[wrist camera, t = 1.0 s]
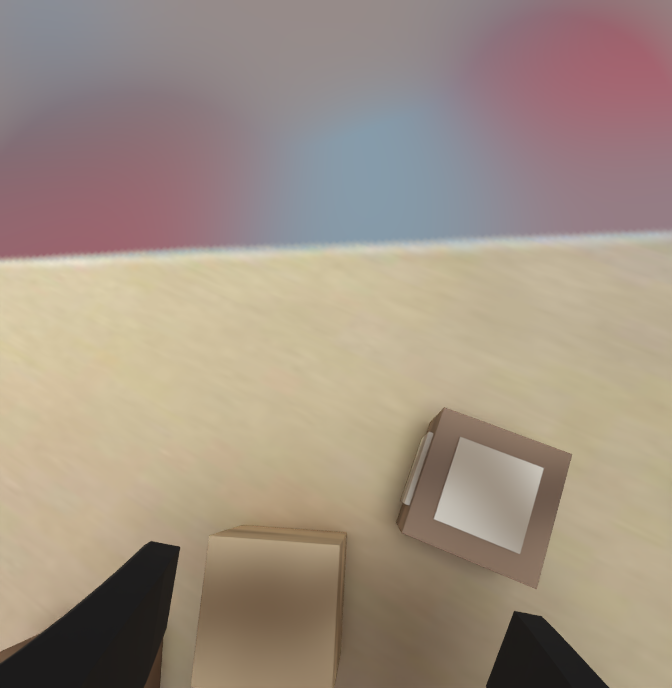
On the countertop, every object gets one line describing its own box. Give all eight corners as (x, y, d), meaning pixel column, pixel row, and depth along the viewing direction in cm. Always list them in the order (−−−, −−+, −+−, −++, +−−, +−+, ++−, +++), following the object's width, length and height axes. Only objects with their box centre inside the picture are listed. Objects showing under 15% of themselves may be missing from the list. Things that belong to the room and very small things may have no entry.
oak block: (340, 652, 21) (331, 701, 17) (230, 642, 22) (190, 687, 17) (346, 532, 23) (339, 545, 18) (243, 524, 23) (209, 535, 18)
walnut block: (500, 566, 22) (538, 590, 17) (392, 520, 23) (397, 531, 18) (531, 460, 23) (574, 454, 18) (426, 421, 24) (440, 404, 19)
